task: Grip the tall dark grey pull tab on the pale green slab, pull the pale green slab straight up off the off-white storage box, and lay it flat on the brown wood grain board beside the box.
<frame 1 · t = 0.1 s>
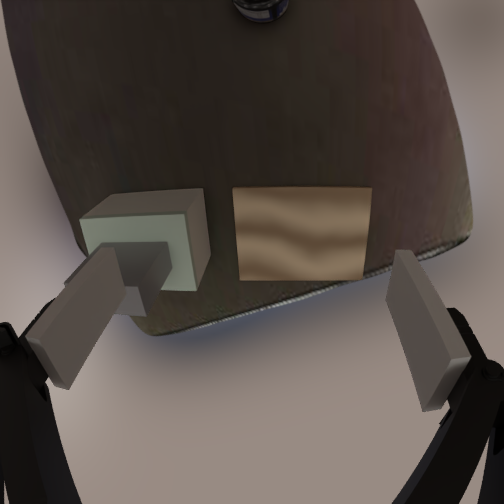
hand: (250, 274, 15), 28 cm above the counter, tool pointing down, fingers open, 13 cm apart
storage box: (159, 223, 45), on the counter
brown wood grain board: (302, 235, 44), on the counter
pill bottle: (262, 2, 30), on the counter
pale green slab: (138, 250, 38), point 8 cm above the counter, touching storage box
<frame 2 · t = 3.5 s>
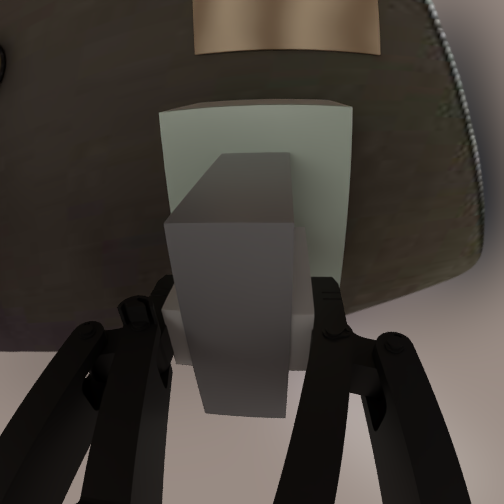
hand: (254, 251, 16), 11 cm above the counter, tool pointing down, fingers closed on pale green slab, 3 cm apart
storage box: (266, 184, 26), on the counter
pale green slab: (259, 223, 19), point 8 cm above the counter, touching gripper, storage box
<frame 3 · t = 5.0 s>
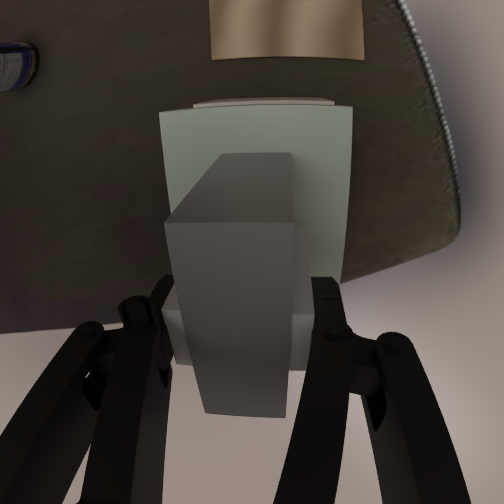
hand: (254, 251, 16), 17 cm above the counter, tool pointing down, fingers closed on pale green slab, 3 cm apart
storage box: (270, 167, 31), on the counter
pill bottle: (24, 65, 27), on the counter
pale green slab: (259, 223, 19), point 14 cm above the counter, touching gripper
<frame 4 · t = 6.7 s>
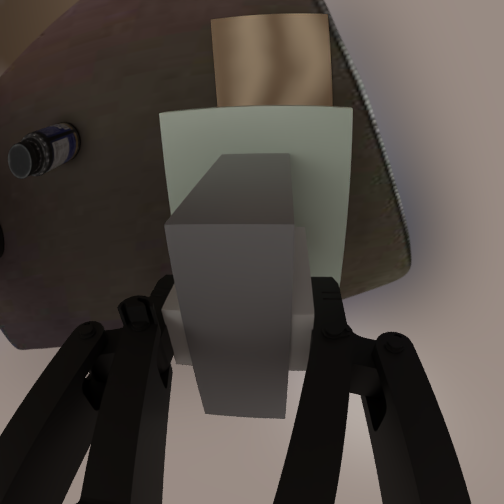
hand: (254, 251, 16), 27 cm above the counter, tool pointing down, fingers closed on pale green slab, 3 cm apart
brown wood grain board: (273, 82, 36), on the counter
pill bottle: (66, 141, 41), on the counter
pale green slab: (259, 224, 19), point 23 cm above the counter, touching gripper
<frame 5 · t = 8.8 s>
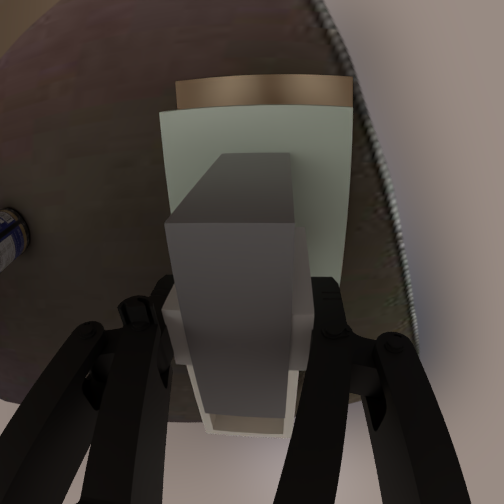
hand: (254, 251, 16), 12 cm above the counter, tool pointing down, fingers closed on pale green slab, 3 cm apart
storage box: (252, 350, 37), on the counter
brown wood grain board: (266, 180, 27), on the counter
pill bottle: (15, 228, 32), on the counter
pale green slab: (259, 223, 19), point 9 cm above the counter, touching gripper
when the fingers open (6 cm above the counter, at t = 10.3 s): pale green slab drops 1 cm, resting on brown wood grain board.
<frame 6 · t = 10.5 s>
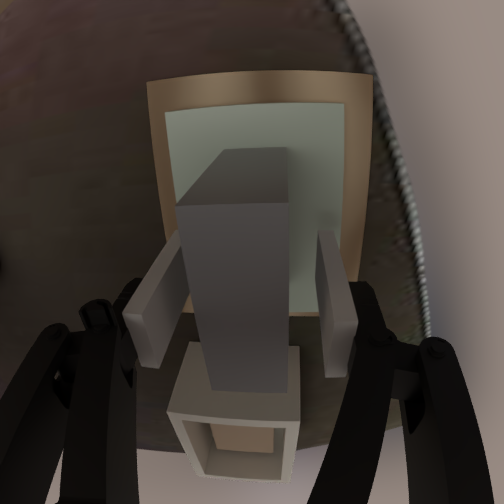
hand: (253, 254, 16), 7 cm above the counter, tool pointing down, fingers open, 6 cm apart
storage box: (247, 390, 32), on the counter
brown wood grain board: (262, 205, 22), on the counter
pale green slab: (260, 215, 21), point 2 cm above the counter, touching brown wood grain board
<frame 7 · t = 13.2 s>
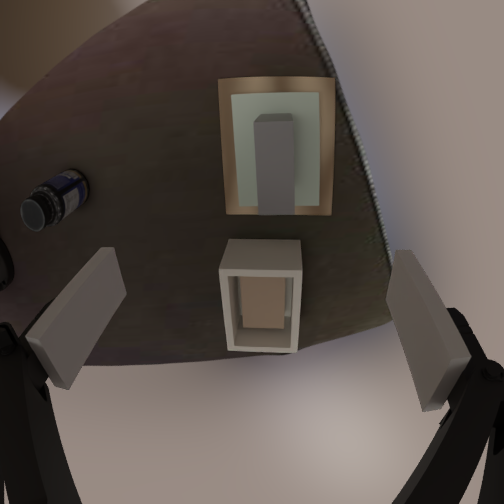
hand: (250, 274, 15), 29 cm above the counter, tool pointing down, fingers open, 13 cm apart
storage box: (265, 281, 49), on the counter
brown wood grain board: (278, 146, 39), on the counter
pill bottle: (75, 186, 45), on the counter
pale green slab: (277, 149, 38), point 2 cm above the counter, touching brown wood grain board
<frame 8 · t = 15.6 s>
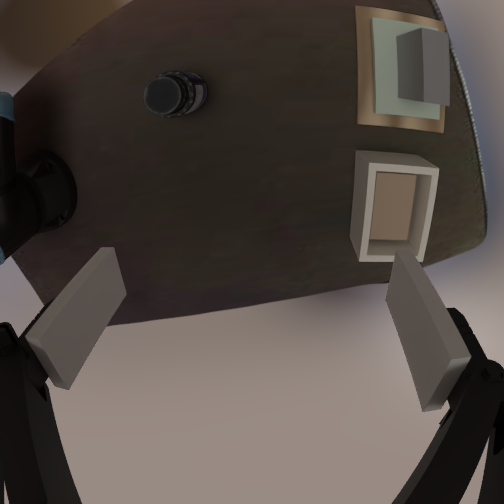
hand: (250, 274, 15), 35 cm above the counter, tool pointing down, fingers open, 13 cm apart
storage box: (383, 196, 47), on the counter
brown wood grain board: (402, 68, 37), on the counter
pill bottle: (188, 92, 42), on the counter
pale green slab: (406, 68, 36), point 2 cm above the counter, touching brown wood grain board
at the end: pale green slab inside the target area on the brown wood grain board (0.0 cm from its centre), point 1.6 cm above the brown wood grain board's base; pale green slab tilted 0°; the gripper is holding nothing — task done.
